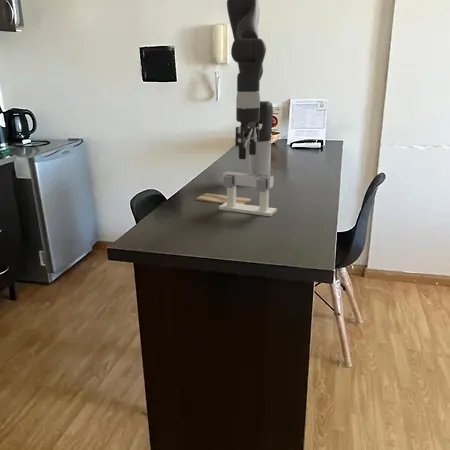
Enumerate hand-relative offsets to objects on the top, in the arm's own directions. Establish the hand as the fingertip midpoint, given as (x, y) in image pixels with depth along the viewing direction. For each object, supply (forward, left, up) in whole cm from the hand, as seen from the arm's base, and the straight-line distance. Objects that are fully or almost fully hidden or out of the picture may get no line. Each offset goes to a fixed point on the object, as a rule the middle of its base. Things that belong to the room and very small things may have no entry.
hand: (247, 156), depth 149 cm
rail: (0, 0, -10) cm, 10 cm away
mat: (-8, -13, -19) cm, 24 cm away
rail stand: (0, 0, -19) cm, 19 cm away
